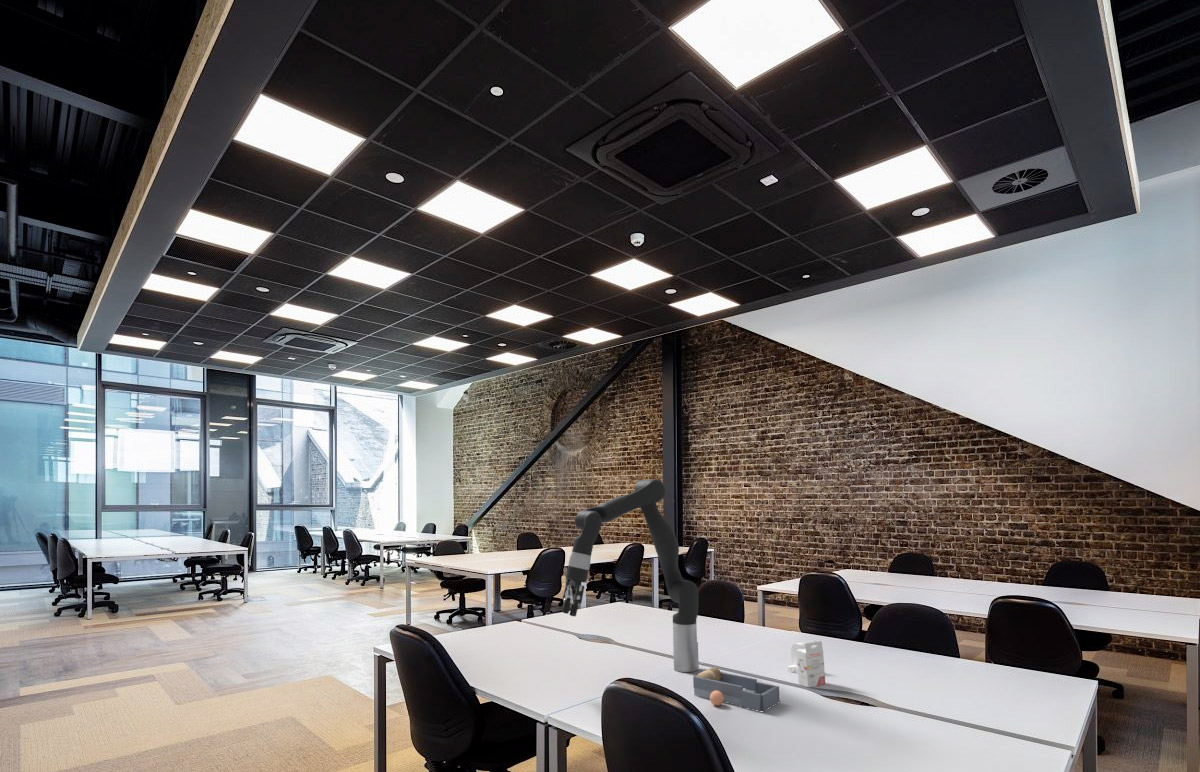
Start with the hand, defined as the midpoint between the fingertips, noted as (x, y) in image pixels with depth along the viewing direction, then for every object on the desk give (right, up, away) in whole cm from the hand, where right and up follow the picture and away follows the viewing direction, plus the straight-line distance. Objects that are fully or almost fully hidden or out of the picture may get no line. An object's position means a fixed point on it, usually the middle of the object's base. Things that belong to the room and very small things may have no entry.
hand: (568, 614), depth 218 cm
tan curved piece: (+48, -23, -3) cm, 54 cm away
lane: (+56, -24, -10) cm, 62 cm away
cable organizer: (+87, -30, +22) cm, 95 cm away
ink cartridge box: (+86, -27, +5) cm, 90 cm away
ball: (+48, -21, -15) cm, 55 cm away
